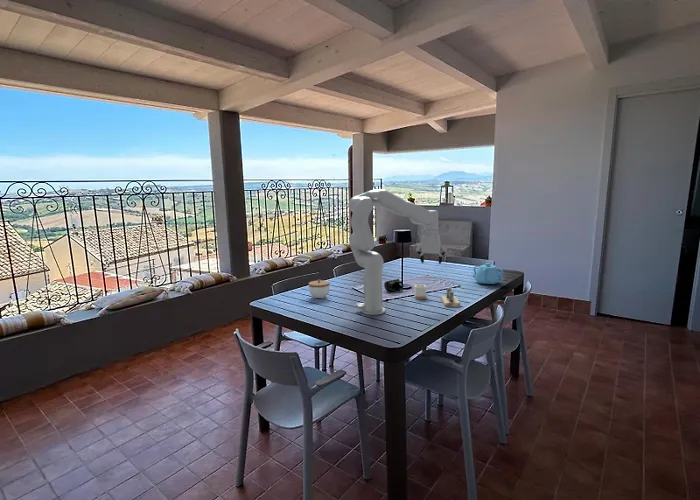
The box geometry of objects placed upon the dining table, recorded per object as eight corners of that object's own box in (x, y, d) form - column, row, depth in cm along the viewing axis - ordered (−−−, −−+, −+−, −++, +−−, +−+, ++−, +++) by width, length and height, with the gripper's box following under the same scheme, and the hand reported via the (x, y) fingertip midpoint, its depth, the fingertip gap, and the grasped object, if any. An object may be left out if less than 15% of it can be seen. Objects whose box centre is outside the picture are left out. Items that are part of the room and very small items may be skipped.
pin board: (444, 306, 195) (444, 294, 194) (440, 299, 209) (440, 287, 208) (459, 306, 195) (460, 293, 194) (454, 299, 209) (454, 287, 207)
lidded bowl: (327, 300, 213) (326, 282, 211) (306, 300, 215) (305, 281, 214) (332, 294, 225) (331, 277, 223) (312, 294, 228) (312, 277, 226)
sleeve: (415, 298, 211) (415, 287, 210) (414, 296, 217) (414, 284, 216) (426, 298, 211) (426, 287, 210) (424, 296, 217) (424, 284, 216)
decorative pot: (470, 280, 251) (471, 261, 249) (494, 279, 252) (494, 260, 249) (480, 286, 235) (480, 266, 233) (504, 285, 235) (505, 264, 233)
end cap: (396, 288, 237) (395, 278, 236) (403, 290, 231) (403, 280, 230) (384, 290, 231) (383, 280, 230) (391, 293, 226) (391, 282, 225)
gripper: (414, 233, 201) (414, 263, 204) (446, 233, 194) (446, 265, 197) (417, 231, 208) (417, 261, 210) (448, 232, 201) (448, 262, 203)
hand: (431, 263), depth 204 cm, fingers open, 9 cm apart
